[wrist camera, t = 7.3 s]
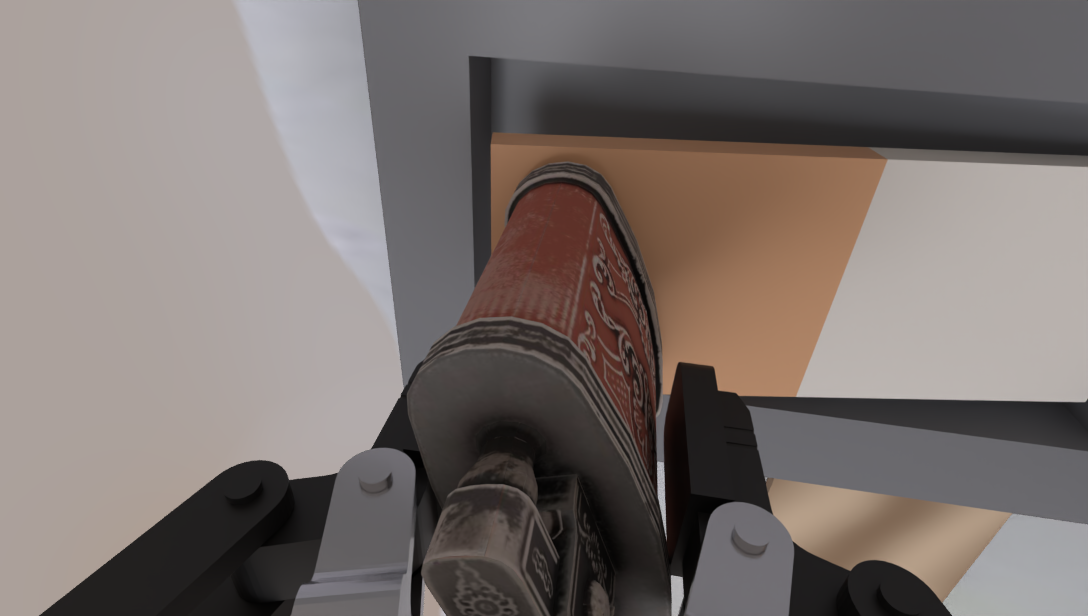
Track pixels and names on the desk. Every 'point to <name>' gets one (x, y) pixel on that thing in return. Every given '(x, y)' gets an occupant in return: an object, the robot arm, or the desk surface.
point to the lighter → (549, 417)
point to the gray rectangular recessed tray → (738, 116)
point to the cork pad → (885, 530)
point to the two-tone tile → (849, 262)
